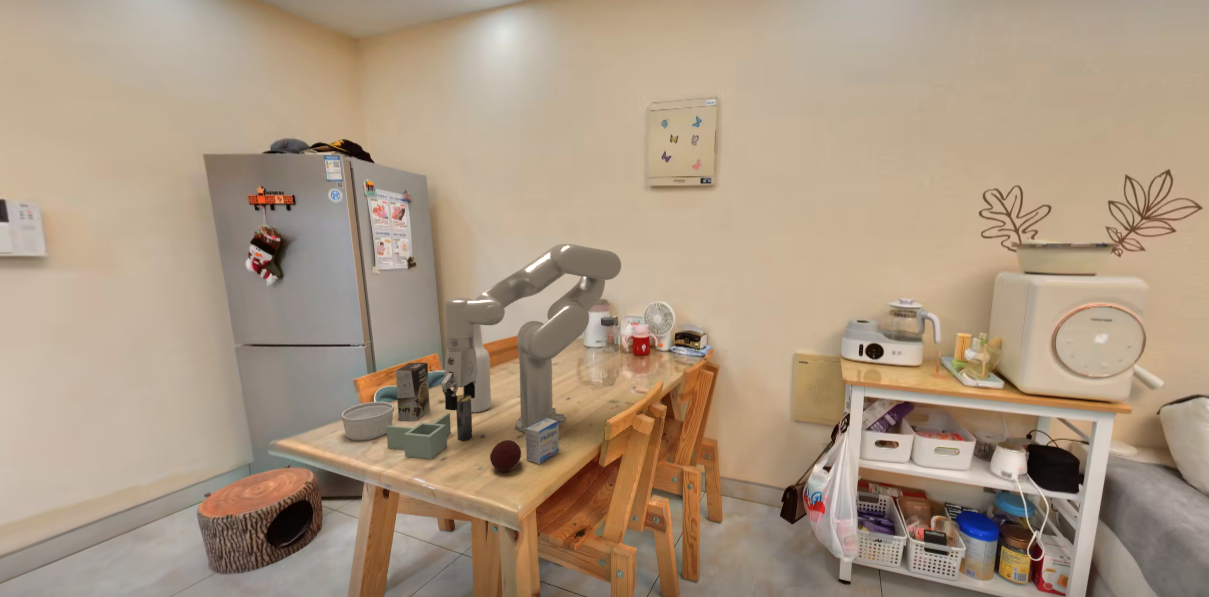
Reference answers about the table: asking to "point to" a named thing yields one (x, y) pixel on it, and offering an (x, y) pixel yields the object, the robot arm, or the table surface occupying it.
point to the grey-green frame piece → (420, 438)
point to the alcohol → (481, 376)
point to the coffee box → (412, 391)
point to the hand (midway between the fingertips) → (460, 403)
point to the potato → (505, 455)
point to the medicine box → (542, 440)
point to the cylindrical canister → (464, 417)
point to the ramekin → (367, 420)
